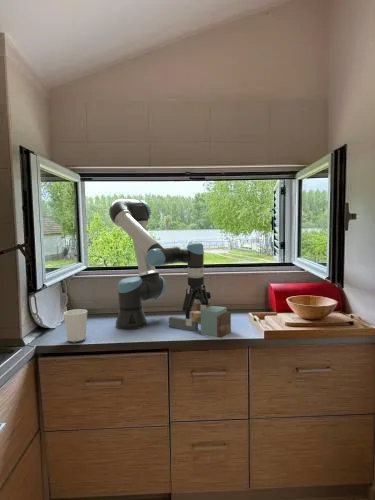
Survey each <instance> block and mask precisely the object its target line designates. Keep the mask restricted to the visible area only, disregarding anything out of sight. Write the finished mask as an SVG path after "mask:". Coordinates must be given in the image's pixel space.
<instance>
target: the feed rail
mask: <svg viewBox="0 0 375 500" xmlns="http://www.w3.org/2000/svg"><path fill="white" fill-rule="evenodd" d="M168 326H169V327H170V328H175V329H176V328H177V329H182V330H190V331H195V332H196V331H198V330H199V323H198V322H193V321H192V326H187V325H186V317H180V316H179V317H178V316H173V315H172V316H169V317H168Z"/></svg>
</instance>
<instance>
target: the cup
mask: <svg viewBox="0 0 375 500" xmlns="http://www.w3.org/2000/svg"><path fill="white" fill-rule="evenodd" d="M63 320H64V325H65V331H66V332H65V333H66V339H67V342H68V343H73V344H77V342H80V343H83V342H84V341H85V340H86V338H87V324H88V323H87V321H88V310H87V309H84V308H83V309H82V308H77V309H76V308H75V309H70V310H66V311H64V312H63Z"/></svg>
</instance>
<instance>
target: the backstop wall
mask: <svg viewBox="0 0 375 500" xmlns="http://www.w3.org/2000/svg"><path fill="white" fill-rule="evenodd" d="M231 313H232V312H230V311H227V312H225V313H223V314H221V315H220V316H218V317H217V337H216V338H220V339H222V338H224V337H225V336H227V335H228V334H230V333H231V332H232V314H231Z"/></svg>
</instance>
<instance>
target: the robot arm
mask: <svg viewBox="0 0 375 500" xmlns="http://www.w3.org/2000/svg"><path fill="white" fill-rule="evenodd" d="M108 211H109V212H108V213H109V217H110V219H111V222H113V223H114V225H115V226H116V227H120V228H121V229H122V230H123V231H124V232H125V233H126V234H127V235H128V237H130V238H131V239H132V242H133V243H132V244H133V247H134V253H135V258H136V264H137V267H138V274H137V276H130V277H126V278H123V279H121V280H120V281H118V285H117V287H118V288H117V292H118V295H117V296H118V314H117V316H116V320H115V327H116V328H117V329H120V330H137V329H142V328H144V327H146V326H147V323H148V320H147V318H146V315H145V311H144V309H143V308H144V307H143V305H144V304H143V303H144V302H148V301H153V300H157V299H160V298H162V297H163V296H164V294H165V293H166V290H167V282H166V280H165V278H164V277H163V276H162V275H160V272H159V271H158V270H157V269H156V267H158V266H159V267H161V266H163V265H164V266H165V265H172V264H180V263H181V264H187V285H188V286H189V288H186V289H185V297H184V300H183V305H182V309H181V310H182V311H183V312H185V318H186V325H187V326H192V311H193V310H192V308H193V305H194V304H195V299H196V297H198V298H199V300H200V302H201V304H202V305H200V308H201V310H203V309H205V308H206V305H208V302H209V300H208V297H207V293H206V292H207V291H206V285H205V277H204V273H205V266H204V261H205V260H204V259H205V258H204V255H205V251H204V245H203V243H200V242H190V243H187V244H186V246H170V247H163V246H162V245H161V244H160V243H159V242H158V241H157V240H156V239H155V238H154V237H153V236H152V235H151V234H150V233H149V232H148V227H147V226H148V224H149V220H150V218H151V214H152V213H151V212H152V210H151V207H150V206H149V204H148V203H147V202H146V201H144V200H141V199H127V198H126V199H125V198H120V199H116V200H114V201H113V202H112V203H111V205H110V207H109V209H108ZM205 299H206V300H205Z"/></svg>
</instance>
